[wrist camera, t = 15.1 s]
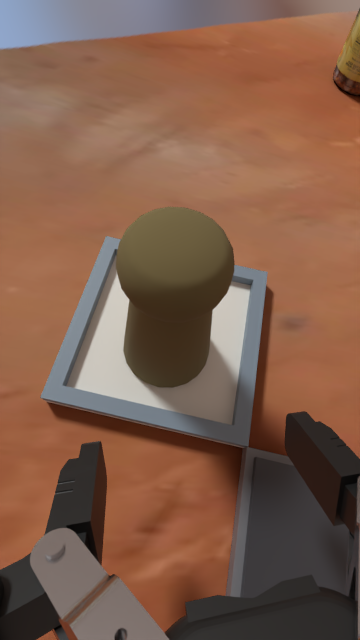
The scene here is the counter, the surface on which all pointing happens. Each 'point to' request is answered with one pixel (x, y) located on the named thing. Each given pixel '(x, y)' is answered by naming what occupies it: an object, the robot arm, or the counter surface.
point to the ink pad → (281, 530)
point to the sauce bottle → (350, 61)
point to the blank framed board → (148, 400)
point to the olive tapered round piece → (172, 292)
